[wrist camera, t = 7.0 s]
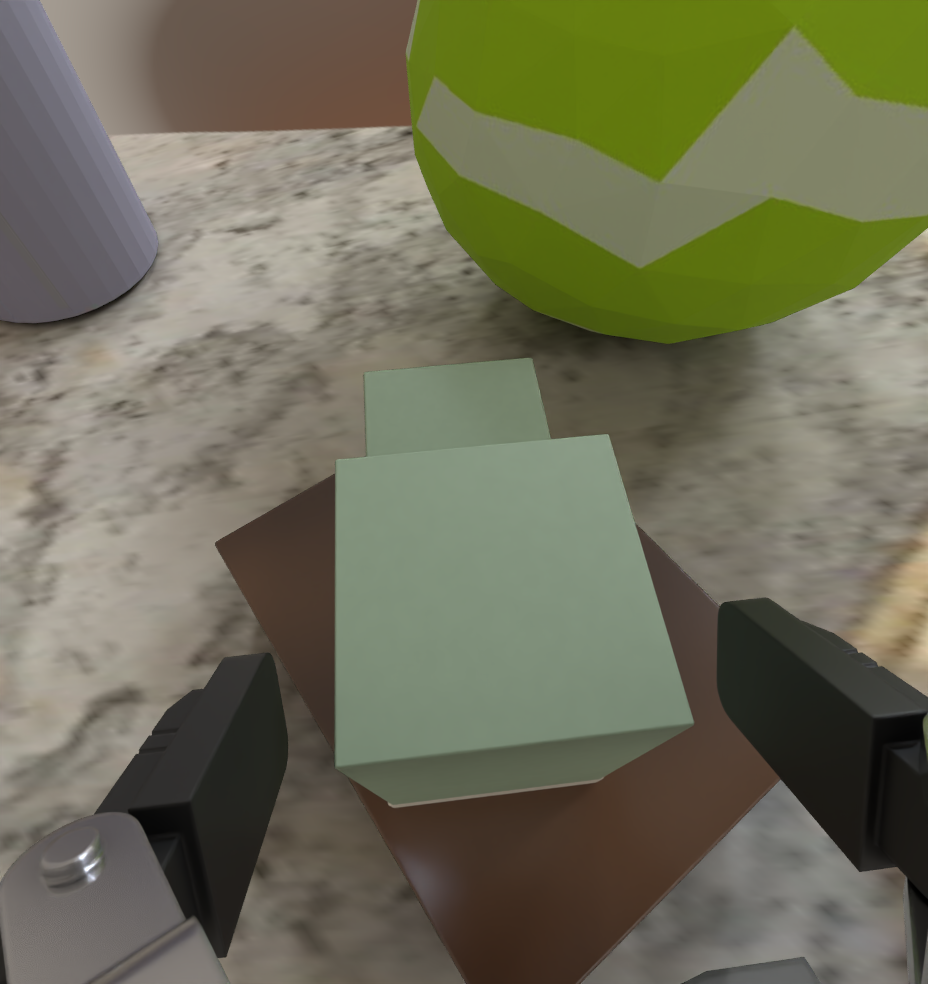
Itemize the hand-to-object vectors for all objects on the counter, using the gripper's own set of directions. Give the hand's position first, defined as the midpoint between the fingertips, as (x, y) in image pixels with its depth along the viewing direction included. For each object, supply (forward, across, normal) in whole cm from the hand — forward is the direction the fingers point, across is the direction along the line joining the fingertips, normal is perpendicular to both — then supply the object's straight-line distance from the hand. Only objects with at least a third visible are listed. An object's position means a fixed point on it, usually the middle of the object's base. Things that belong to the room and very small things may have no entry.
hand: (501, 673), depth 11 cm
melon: (+24, -12, -8) cm, 28 cm away
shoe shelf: (+10, -1, +6) cm, 12 cm away
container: (+28, +20, -12) cm, 37 cm away
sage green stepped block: (+8, 0, +2) cm, 8 cm away
